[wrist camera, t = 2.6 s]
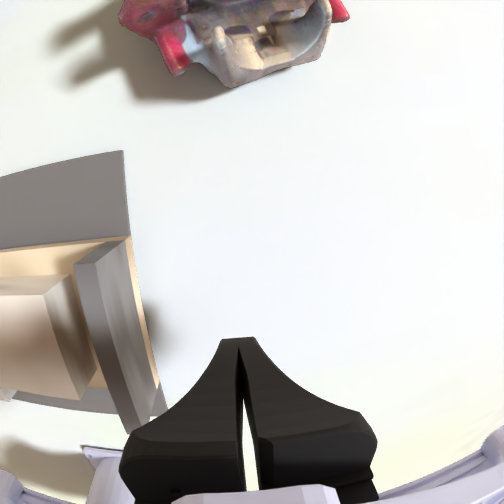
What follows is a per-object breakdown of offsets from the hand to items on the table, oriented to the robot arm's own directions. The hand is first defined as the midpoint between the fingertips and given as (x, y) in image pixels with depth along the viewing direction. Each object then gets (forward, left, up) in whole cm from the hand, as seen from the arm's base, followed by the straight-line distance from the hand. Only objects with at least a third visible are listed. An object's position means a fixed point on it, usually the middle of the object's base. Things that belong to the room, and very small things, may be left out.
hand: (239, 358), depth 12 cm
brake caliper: (+17, -1, -6) cm, 18 cm away
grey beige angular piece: (0, +11, -6) cm, 13 cm away
